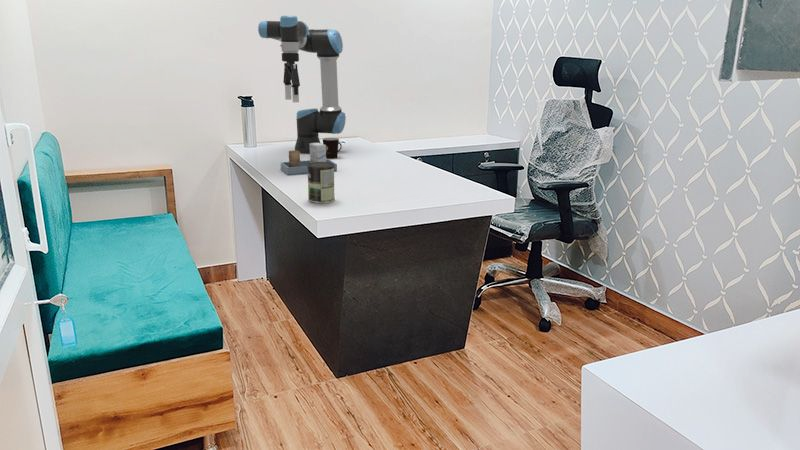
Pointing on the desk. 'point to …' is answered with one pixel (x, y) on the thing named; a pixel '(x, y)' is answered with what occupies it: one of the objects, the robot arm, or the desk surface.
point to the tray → (300, 168)
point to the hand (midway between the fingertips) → (292, 101)
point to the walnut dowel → (294, 158)
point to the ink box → (317, 152)
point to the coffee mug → (331, 147)
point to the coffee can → (321, 182)
